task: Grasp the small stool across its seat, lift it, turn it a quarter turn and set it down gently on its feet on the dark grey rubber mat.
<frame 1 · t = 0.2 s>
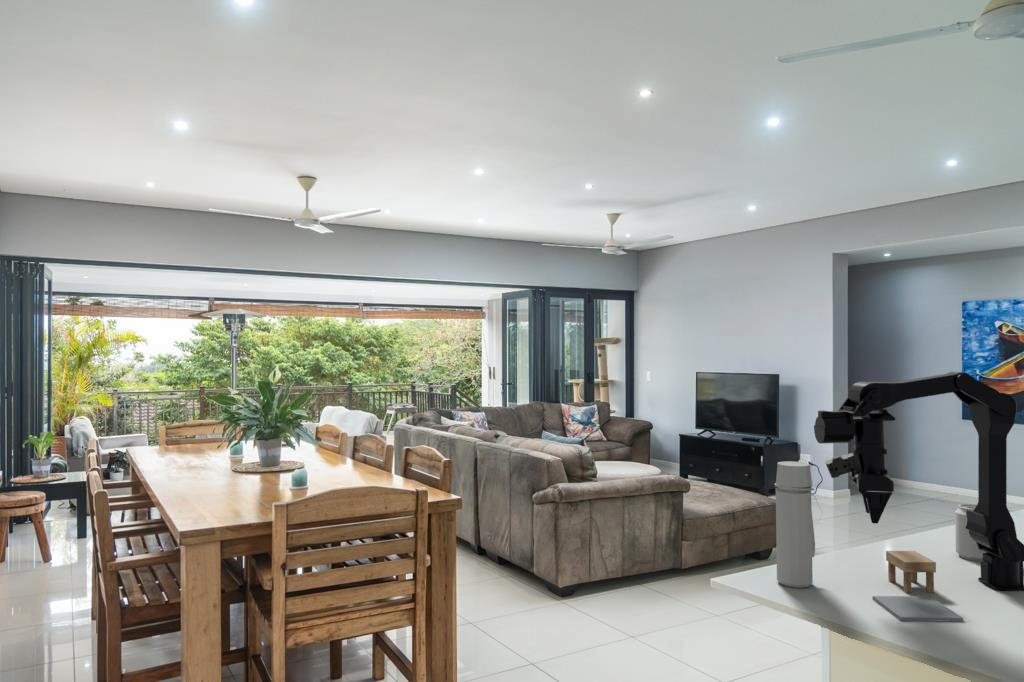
hand: (871, 518, 147), 14 cm above the kitchen counter, tool pointing down, fingers open, 9 cm apart
can: (974, 558, 166), on the kitchen counter
water bottle: (798, 583, 149), on the kitchen counter
mat: (915, 609, 133), on the kitchen counter
stool: (910, 586, 146), on the kitchen counter
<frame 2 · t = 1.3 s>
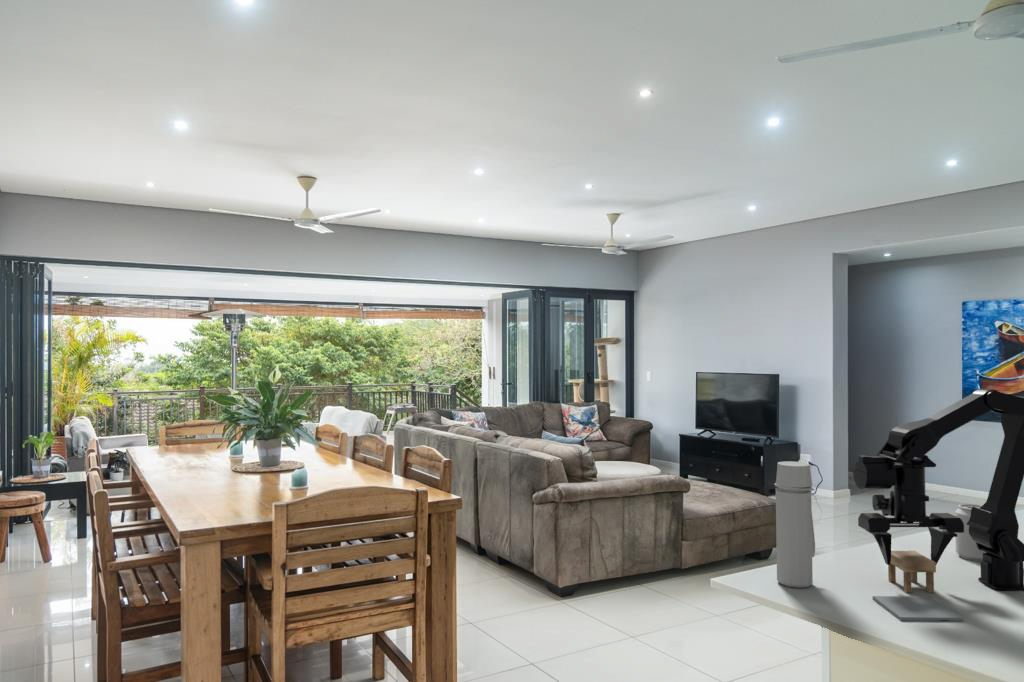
hand: (910, 564, 146), 5 cm above the kitchen counter, tool pointing down, fingers open, 9 cm apart
nothing on the kitchen counter moved.
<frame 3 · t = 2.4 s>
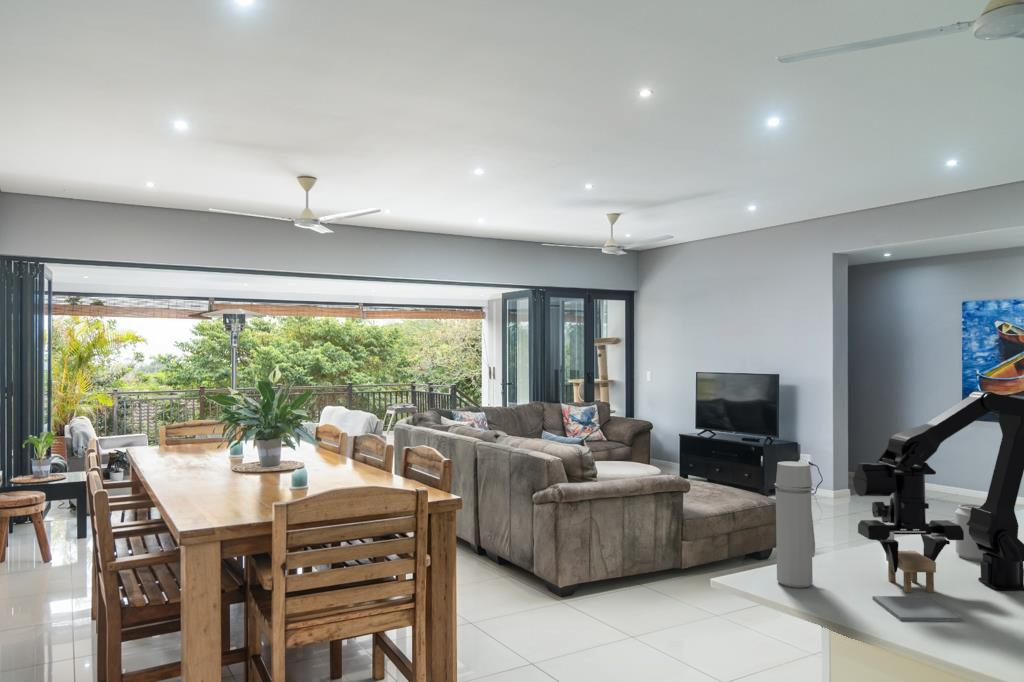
hand: (910, 571, 146), 3 cm above the kitchen counter, tool pointing down, fingers closed on stool, 6 cm apart
stool: (910, 586, 146), on the kitchen counter, touching gripper
everything else where it was.
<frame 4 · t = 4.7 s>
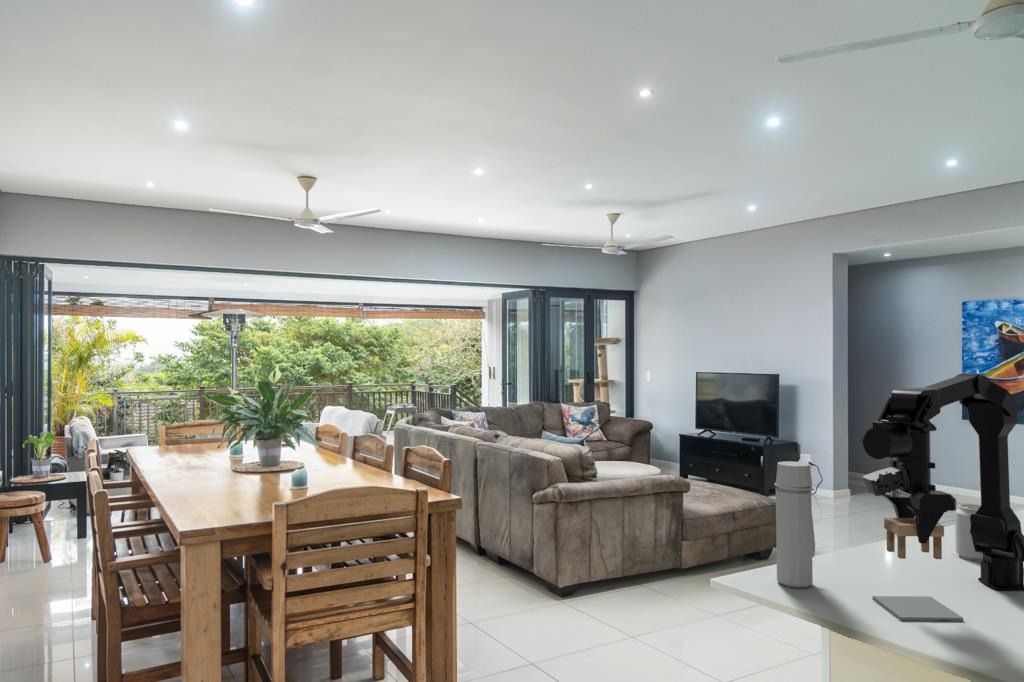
hand: (913, 538, 134), 13 cm above the kitchen counter, tool pointing down, fingers closed on stool, 6 cm apart
stool: (913, 554, 134), point 10 cm above the kitchen counter, touching gripper
everything else where it was.
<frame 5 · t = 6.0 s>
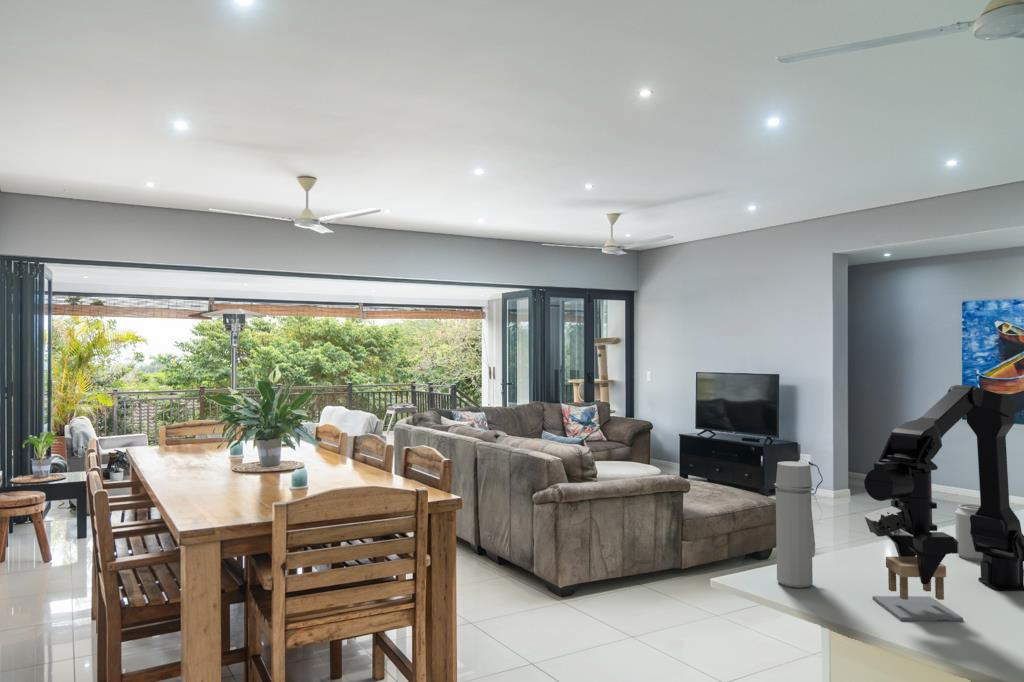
hand: (915, 578, 133), 6 cm above the kitchen counter, tool pointing down, fingers closed on stool, 6 cm apart
stool: (915, 594, 133), point 3 cm above the kitchen counter, touching gripper
everything else where it was.
when the fingers open (5 cm above the kitchen counter, at t = 7.1 s): stool drops 1 cm, resting on mat.
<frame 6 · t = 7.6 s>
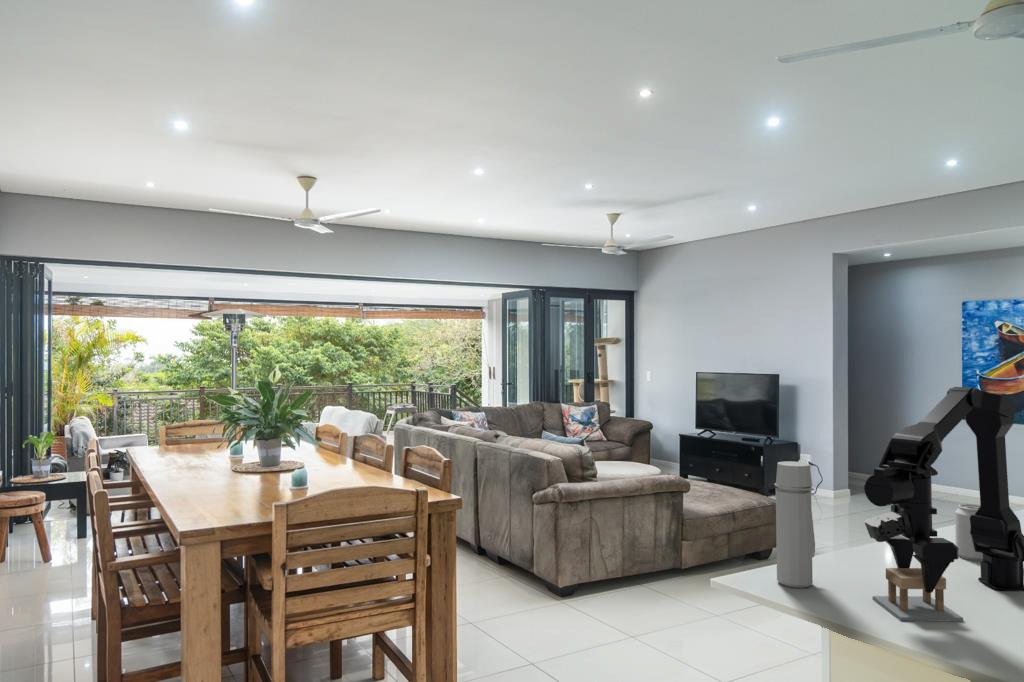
hand: (915, 583, 133), 5 cm above the kitchen counter, tool pointing down, fingers open, 9 cm apart
stool: (915, 606, 133), point 1 cm above the kitchen counter, touching mat
everything else where it was.
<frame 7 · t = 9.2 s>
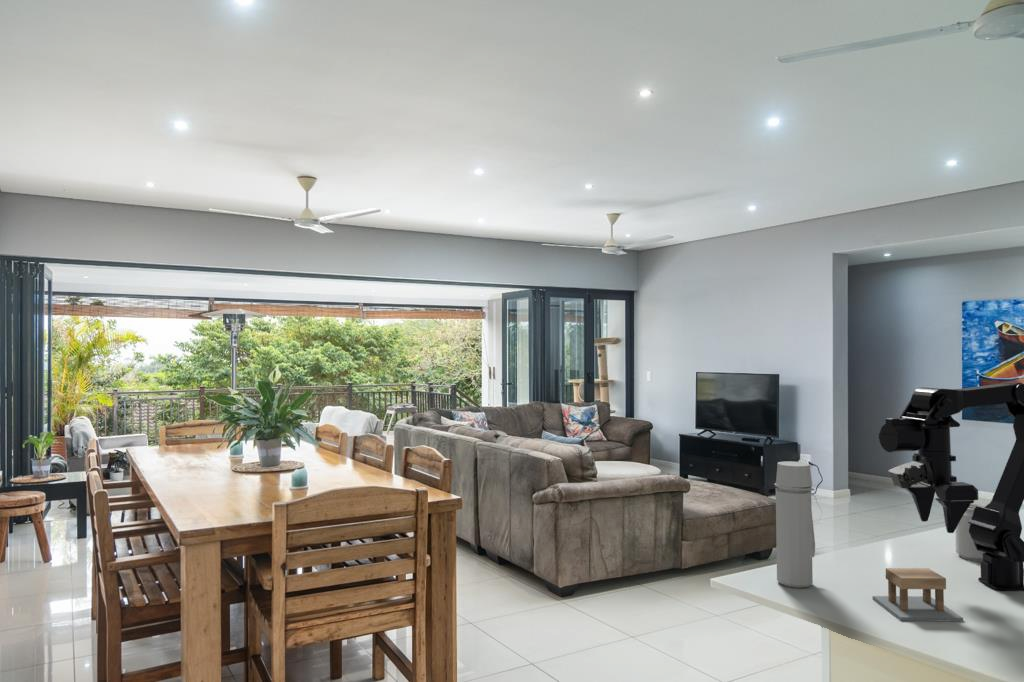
hand: (937, 526, 144), 13 cm above the kitchen counter, tool pointing down, fingers open, 9 cm apart
nothing on the kitchen counter moved.
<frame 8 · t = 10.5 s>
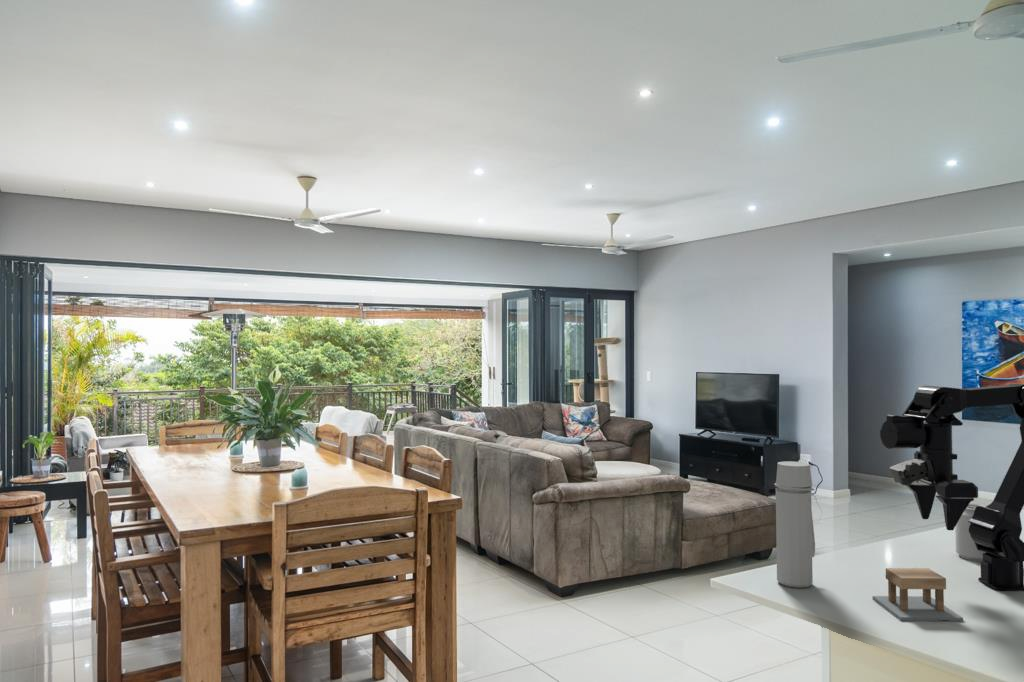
hand: (937, 524, 145), 13 cm above the kitchen counter, tool pointing down, fingers open, 9 cm apart
nothing on the kitchen counter moved.
at the end: stool inside the target area (0.1 cm from its centre), point 0.6 cm above the kitchen counter; stool tilted 0°; the gripper is holding nothing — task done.
